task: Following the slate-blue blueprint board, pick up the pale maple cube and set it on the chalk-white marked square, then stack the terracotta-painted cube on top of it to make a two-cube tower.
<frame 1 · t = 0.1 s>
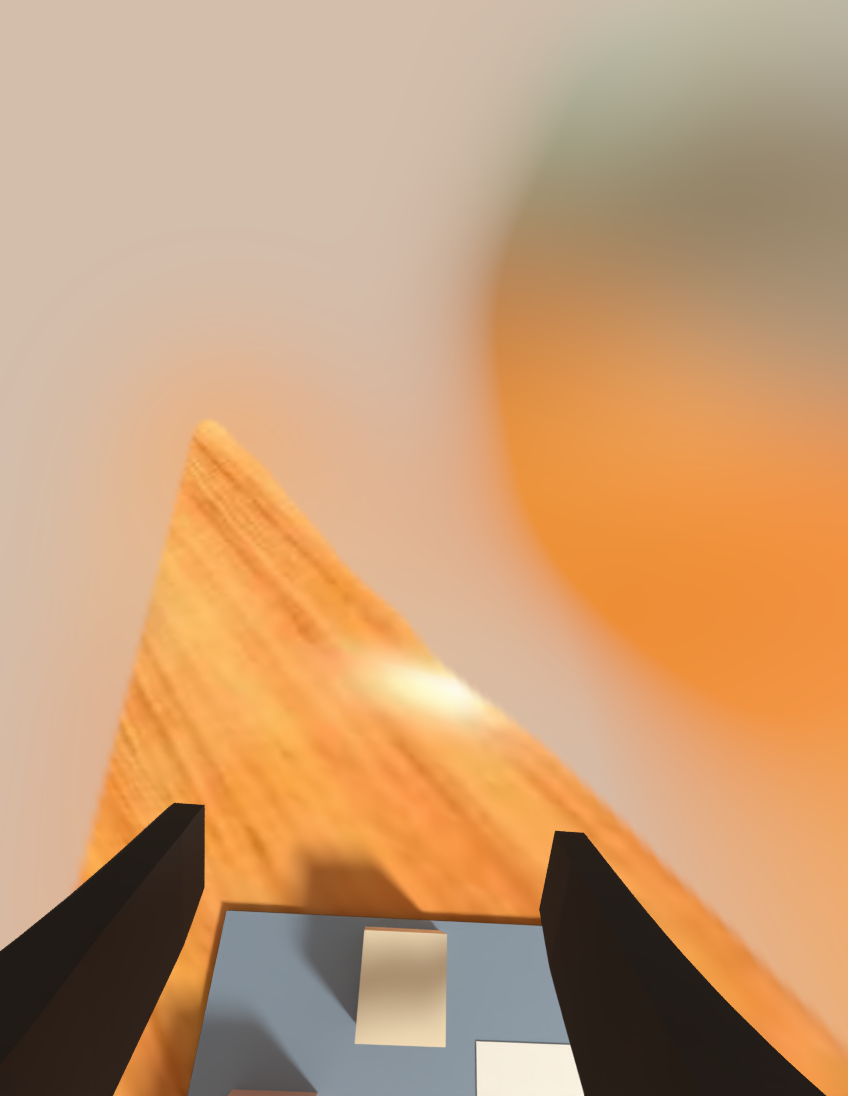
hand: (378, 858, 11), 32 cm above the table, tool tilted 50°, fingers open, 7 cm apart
blueprint board: (443, 1059, 32), on the table
maple cube: (399, 975, 34), point 1 cm above the table, touching blueprint board
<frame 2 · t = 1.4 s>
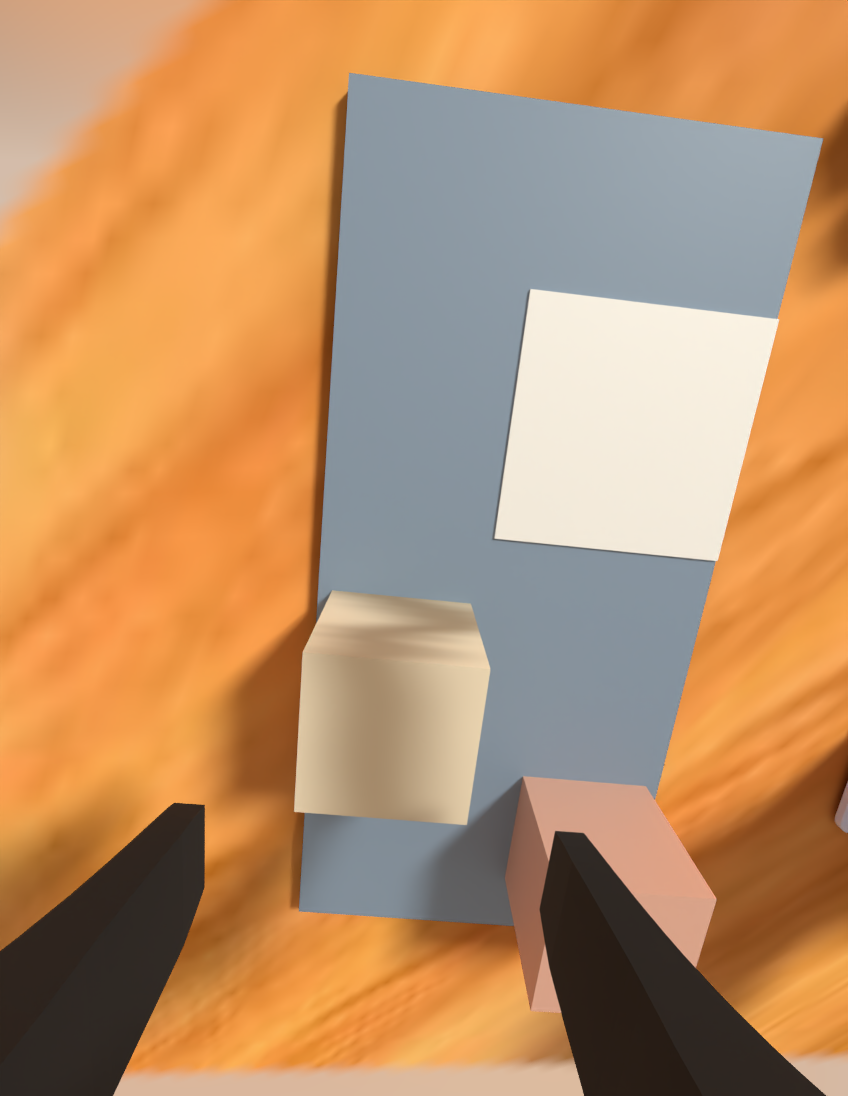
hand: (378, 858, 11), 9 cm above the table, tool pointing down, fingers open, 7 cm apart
blueprint board: (510, 589, 19), on the table
maple cube: (395, 660, 19), point 1 cm above the table, touching blueprint board
terracotta cube: (573, 833, 21), point 1 cm above the table, touching blueprint board
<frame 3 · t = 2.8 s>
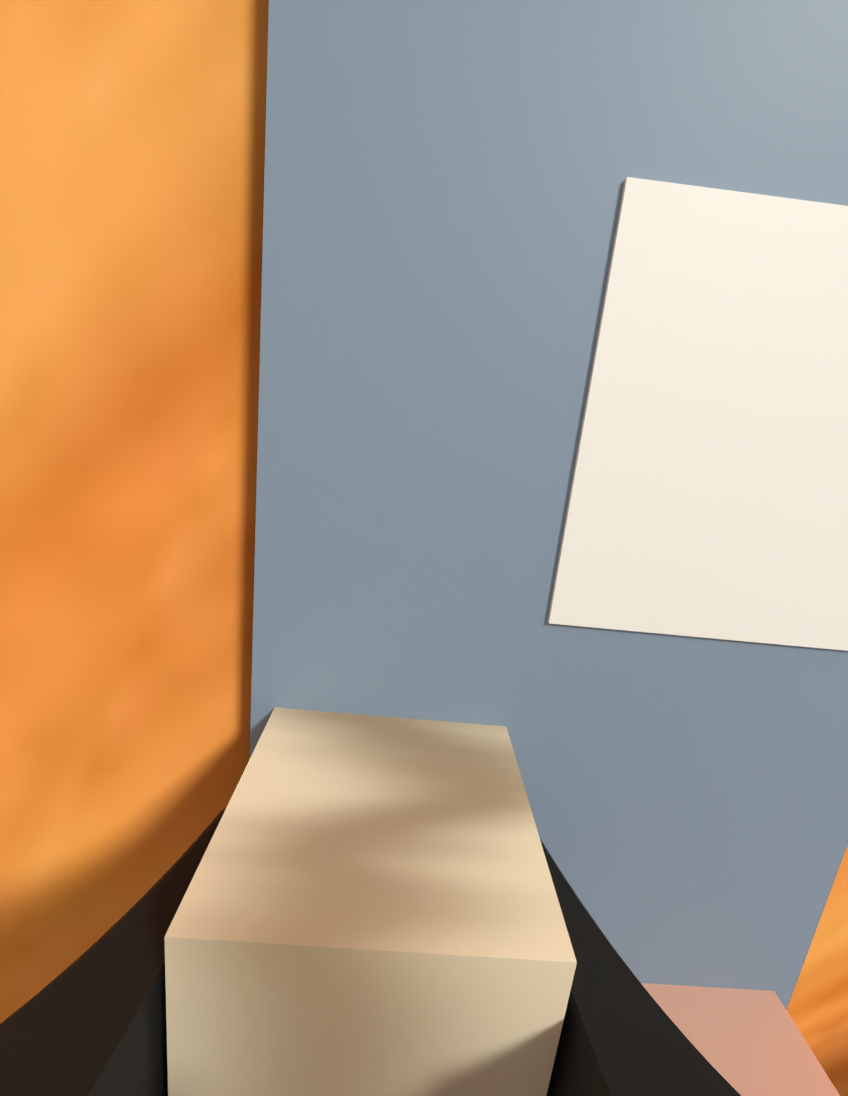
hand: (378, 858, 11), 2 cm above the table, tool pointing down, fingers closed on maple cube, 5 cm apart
blueprint board: (569, 697, 12), on the table
maple cube: (381, 814, 12), point 1 cm above the table, touching blueprint board, gripper
terracotta cube: (658, 1056, 14), point 1 cm above the table, touching blueprint board
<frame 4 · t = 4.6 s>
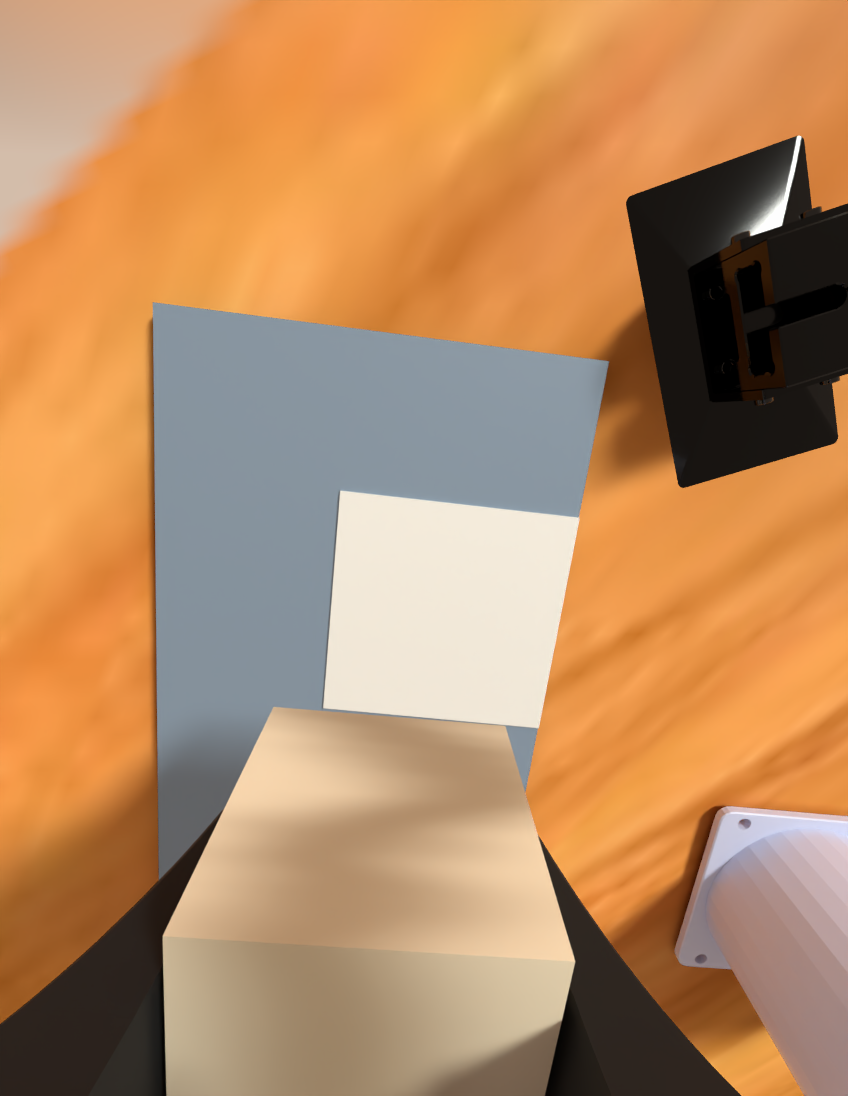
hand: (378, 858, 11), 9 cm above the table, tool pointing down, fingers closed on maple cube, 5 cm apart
blueprint board: (348, 746, 20), on the table
maple cube: (380, 813, 12), point 8 cm above the table, touching gripper
build plate: (723, 328, 17), on the table
when the fingers open (3 cm above the table, at t = 6.5 s): maple cube stays where it is, resting on blueprint board.
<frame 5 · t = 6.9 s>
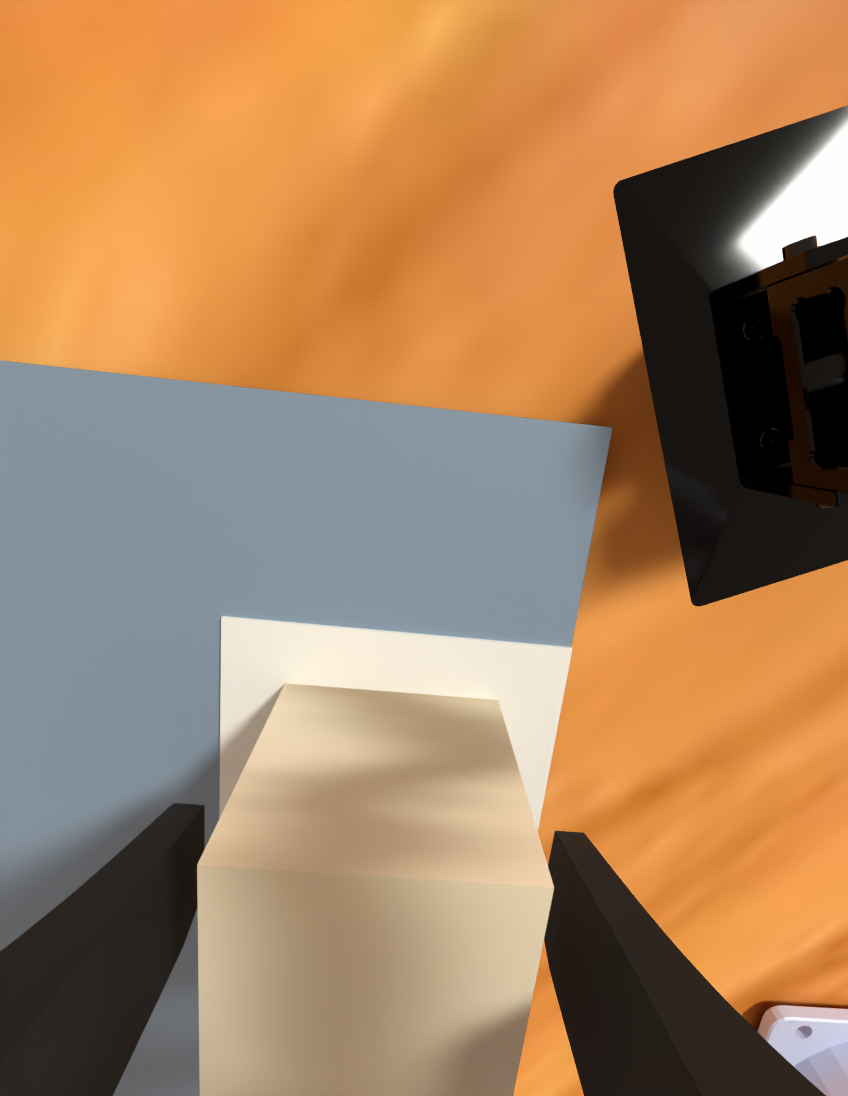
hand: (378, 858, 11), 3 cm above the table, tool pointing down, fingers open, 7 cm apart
blueprint board: (262, 938, 15), on the table
maple cube: (384, 782, 13), point 1 cm above the table, touching blueprint board
build plate: (757, 376, 12), on the table
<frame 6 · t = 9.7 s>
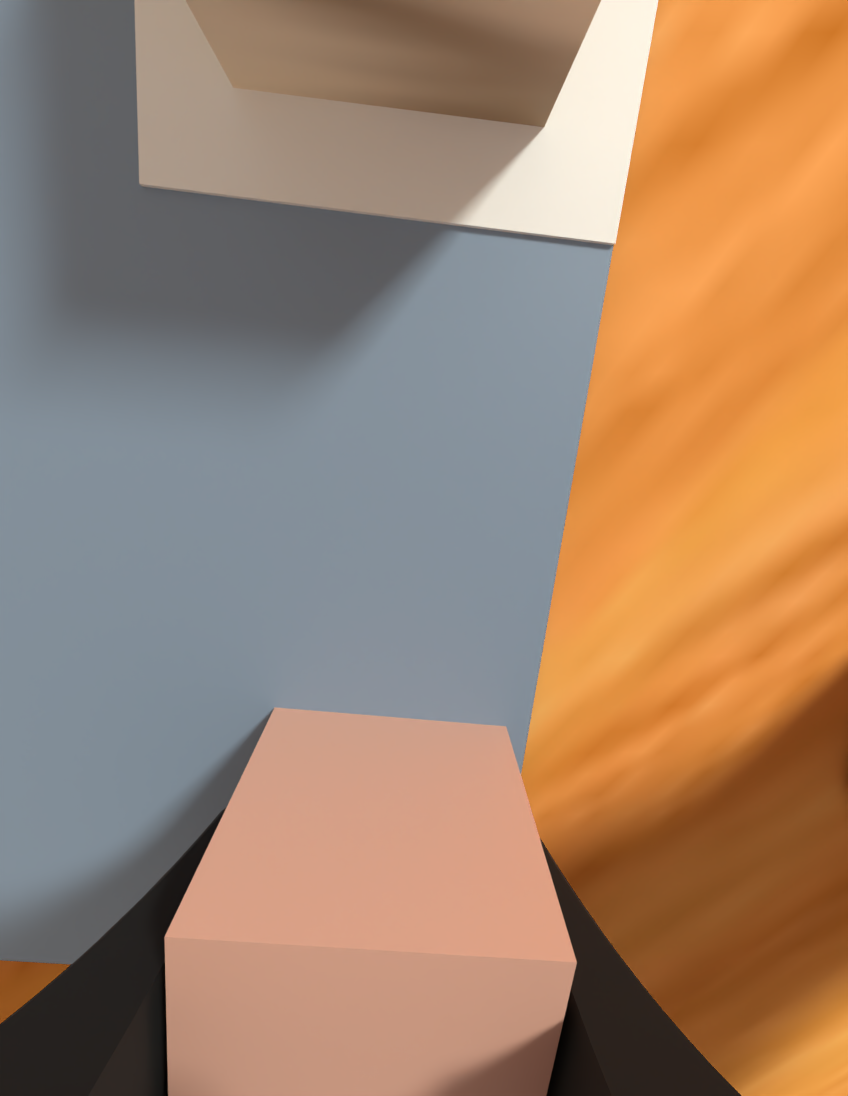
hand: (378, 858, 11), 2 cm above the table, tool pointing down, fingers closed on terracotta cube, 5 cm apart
blueprint board: (216, 328, 10), on the table
terracotta cube: (381, 814, 12), point 1 cm above the table, touching blueprint board, gripper
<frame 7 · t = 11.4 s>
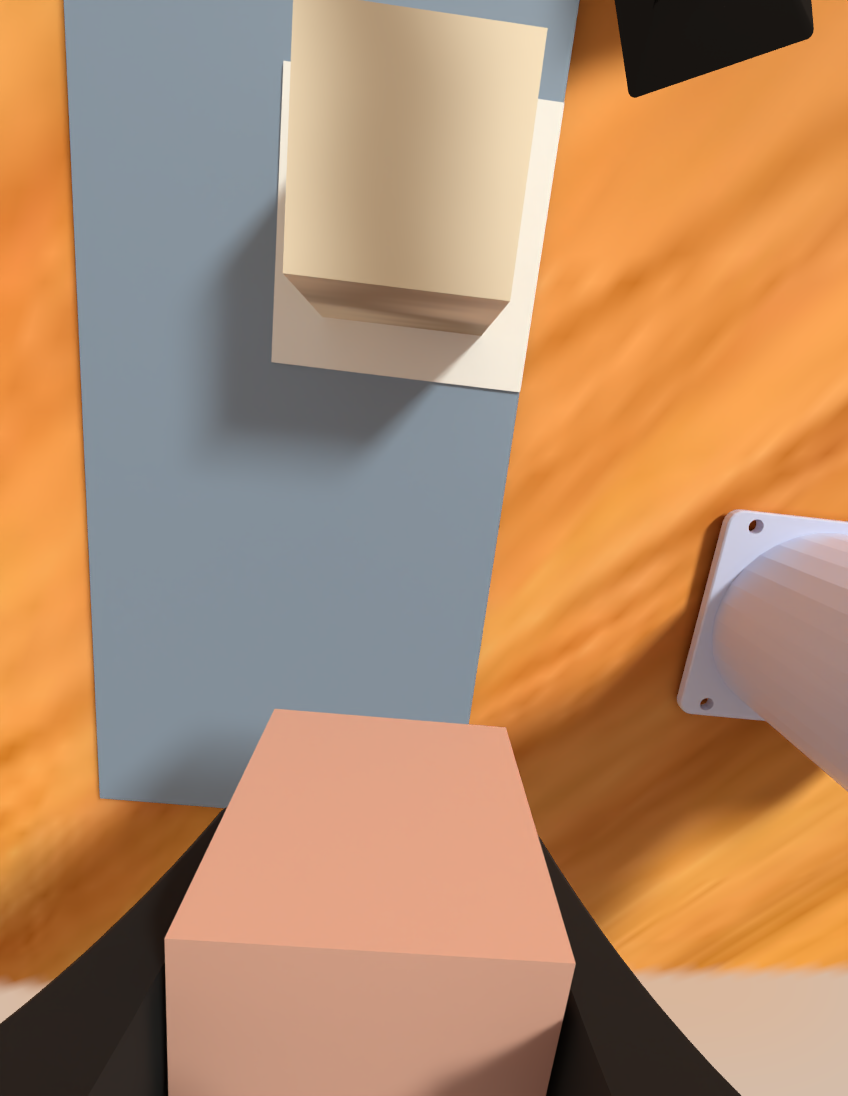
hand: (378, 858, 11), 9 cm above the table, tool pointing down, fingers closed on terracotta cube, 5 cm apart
blueprint board: (303, 429, 18), on the table
maple cube: (410, 237, 16), point 1 cm above the table, touching blueprint board
terracotta cube: (381, 815, 12), point 8 cm above the table, touching gripper
when the fingers open (8 cm above the table, at t = 13.3 s): terracotta cube stays where it is, resting on maple cube.
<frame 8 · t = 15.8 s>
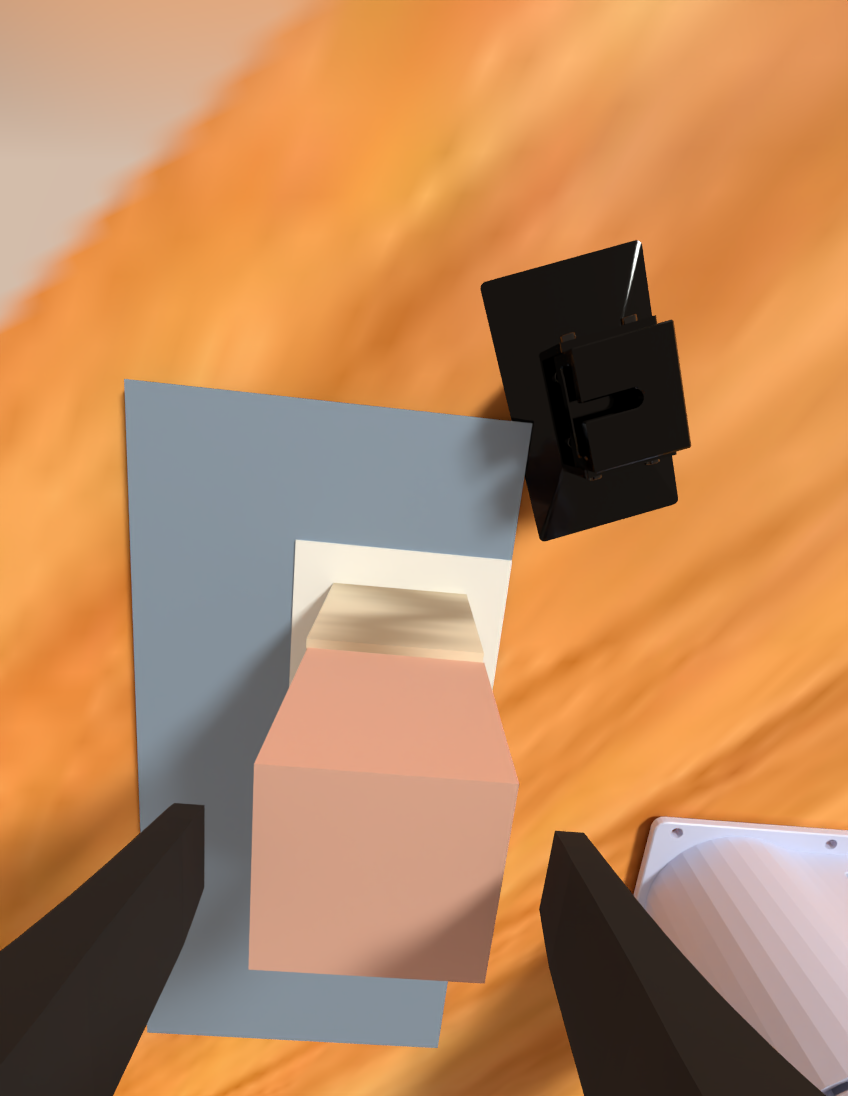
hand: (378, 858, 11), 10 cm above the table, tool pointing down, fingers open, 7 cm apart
blueprint board: (312, 765, 22), on the table
maple cube: (394, 649, 20), point 1 cm above the table, touching blueprint board, terracotta cube
build plate: (580, 403, 19), on the table
terracotta cube: (388, 732, 15), point 6 cm above the table, touching maple cube
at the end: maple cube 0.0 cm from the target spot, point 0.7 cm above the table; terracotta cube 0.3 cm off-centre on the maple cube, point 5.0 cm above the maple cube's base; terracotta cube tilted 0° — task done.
